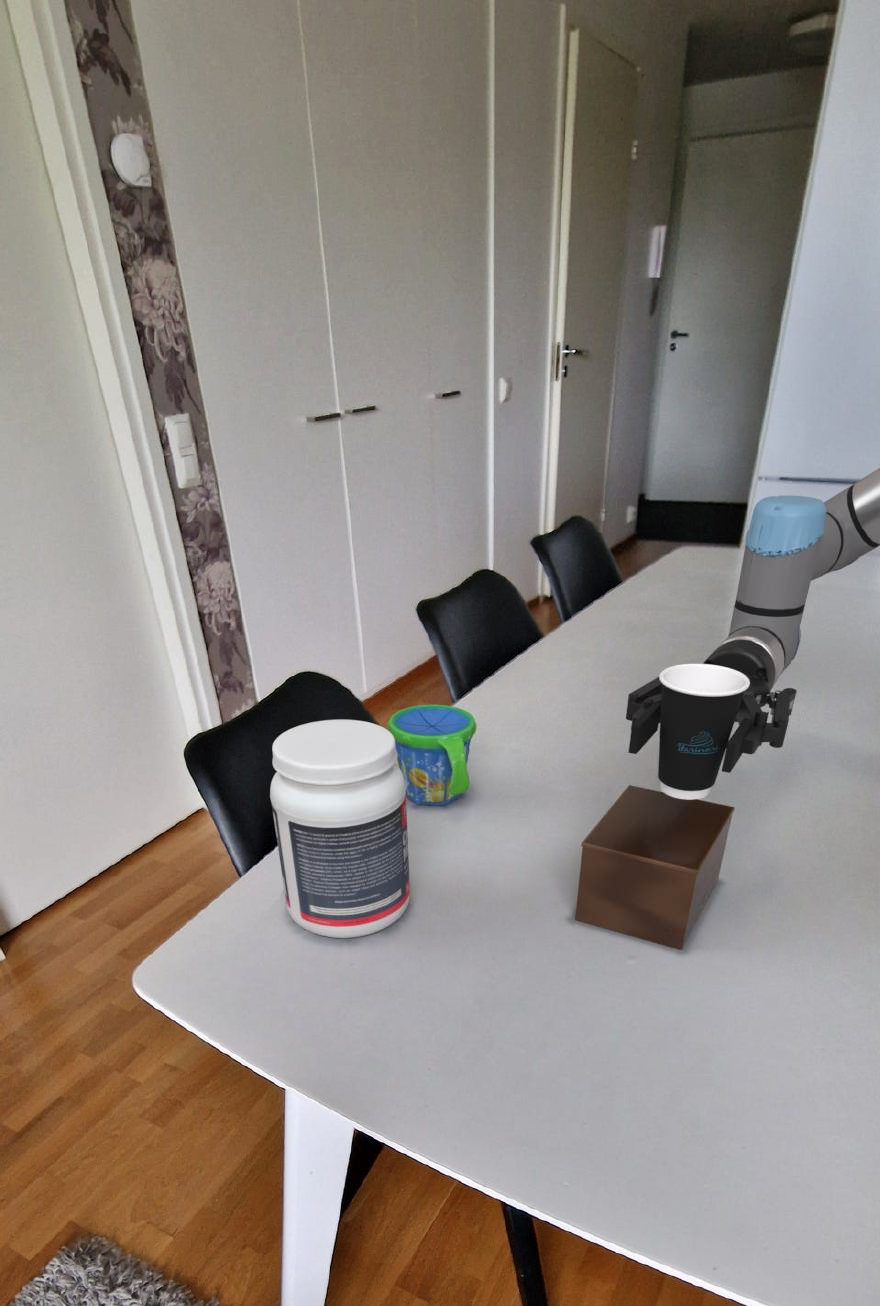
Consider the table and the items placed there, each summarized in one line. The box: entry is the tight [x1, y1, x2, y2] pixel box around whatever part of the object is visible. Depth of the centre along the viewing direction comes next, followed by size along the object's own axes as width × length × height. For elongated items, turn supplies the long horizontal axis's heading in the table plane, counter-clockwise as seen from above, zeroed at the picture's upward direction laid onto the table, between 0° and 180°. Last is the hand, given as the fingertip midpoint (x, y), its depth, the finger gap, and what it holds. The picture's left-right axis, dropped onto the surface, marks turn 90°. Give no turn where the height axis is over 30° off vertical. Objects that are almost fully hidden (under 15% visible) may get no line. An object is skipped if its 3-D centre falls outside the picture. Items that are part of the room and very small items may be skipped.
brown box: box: [574, 784, 736, 951], centre depth 86 cm, size 11×14×9 cm
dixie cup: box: [657, 663, 750, 800], centre depth 79 cm, size 8×8×11 cm
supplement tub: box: [269, 719, 411, 939], centre depth 82 cm, size 13×13×18 cm
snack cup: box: [387, 704, 477, 807], centre depth 106 cm, size 16×10×10 cm
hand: (680, 748), depth 76 cm, fingers closed on dixie cup, 8 cm apart
